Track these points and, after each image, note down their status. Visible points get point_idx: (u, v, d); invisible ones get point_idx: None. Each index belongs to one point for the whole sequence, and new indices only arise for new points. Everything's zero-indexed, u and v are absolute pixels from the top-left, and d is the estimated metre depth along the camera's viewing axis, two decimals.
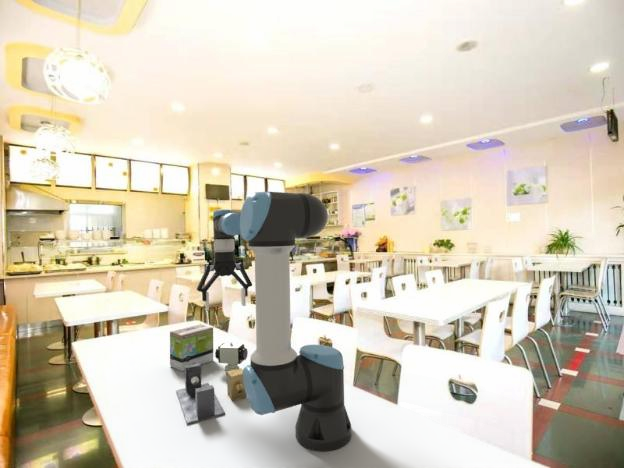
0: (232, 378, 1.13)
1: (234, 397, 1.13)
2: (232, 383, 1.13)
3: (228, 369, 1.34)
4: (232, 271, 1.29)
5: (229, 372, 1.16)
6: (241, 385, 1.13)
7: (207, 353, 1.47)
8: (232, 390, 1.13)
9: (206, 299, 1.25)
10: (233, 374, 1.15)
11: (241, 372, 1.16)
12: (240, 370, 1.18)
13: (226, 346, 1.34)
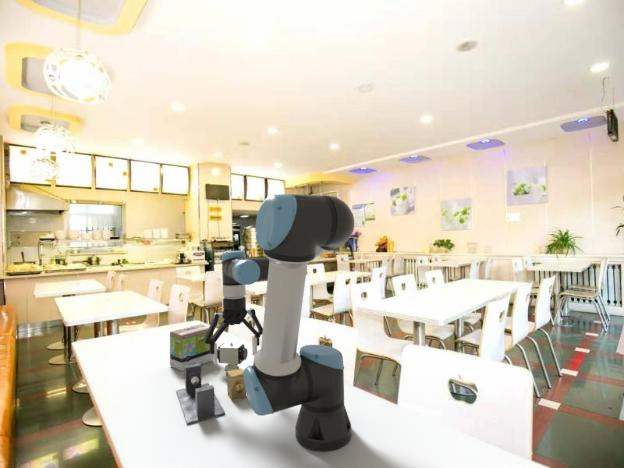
0: (232, 378, 1.13)
1: (234, 397, 1.13)
2: (232, 383, 1.13)
3: (228, 369, 1.34)
4: (243, 319, 1.16)
5: (229, 372, 1.16)
6: (241, 385, 1.13)
7: (207, 353, 1.47)
8: (232, 390, 1.13)
9: (214, 352, 1.12)
10: (233, 374, 1.15)
11: (241, 372, 1.16)
12: (240, 370, 1.18)
13: (226, 346, 1.34)
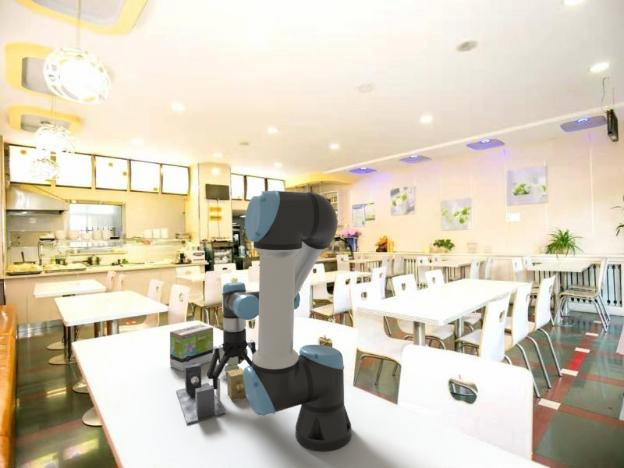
0: (232, 378, 1.13)
1: (234, 397, 1.13)
2: (232, 383, 1.13)
3: (228, 369, 1.34)
4: (242, 352, 1.16)
5: (229, 372, 1.16)
6: (241, 385, 1.13)
7: (207, 353, 1.47)
8: (232, 390, 1.13)
9: (217, 387, 1.12)
10: (233, 374, 1.15)
11: (241, 372, 1.16)
12: (240, 370, 1.18)
13: None
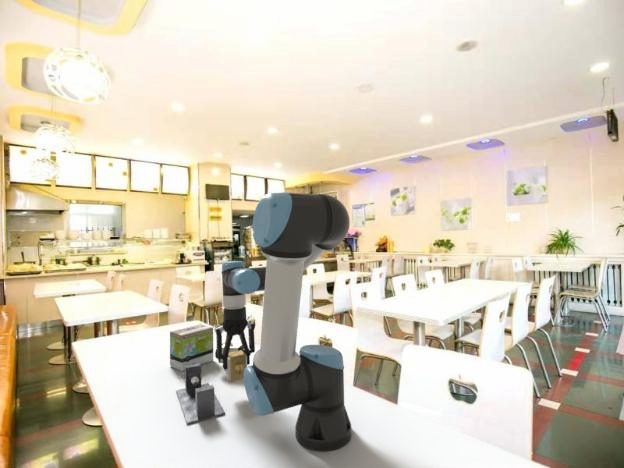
0: (232, 359, 1.13)
1: (234, 378, 1.13)
2: (232, 364, 1.13)
3: None
4: (241, 331, 1.15)
5: (229, 353, 1.16)
6: (241, 365, 1.13)
7: (207, 353, 1.47)
8: (232, 371, 1.13)
9: (227, 367, 1.13)
10: (233, 355, 1.14)
11: (241, 353, 1.16)
12: (240, 351, 1.17)
13: None
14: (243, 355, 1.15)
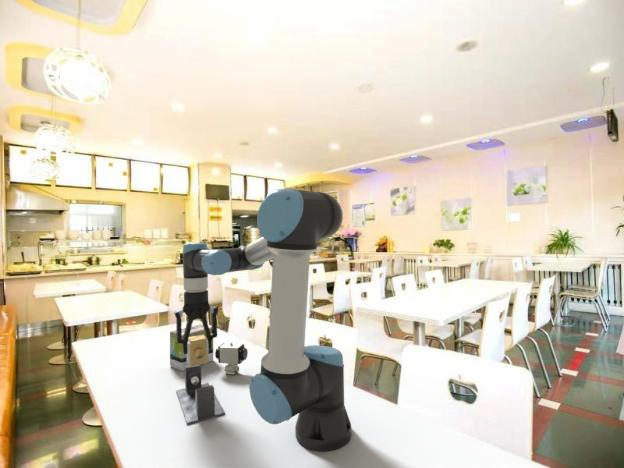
0: (192, 343, 1.09)
1: (194, 363, 1.09)
2: (192, 348, 1.09)
3: (228, 369, 1.34)
4: (203, 315, 1.12)
5: (190, 338, 1.12)
6: (201, 350, 1.09)
7: None
8: (192, 355, 1.09)
9: (187, 351, 1.10)
10: (193, 339, 1.11)
11: (202, 337, 1.12)
12: (202, 336, 1.14)
13: (226, 346, 1.34)
14: (204, 339, 1.11)
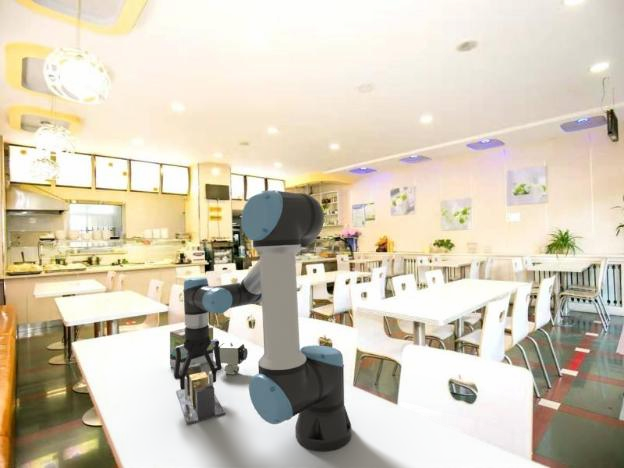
0: (193, 382, 1.09)
1: (195, 402, 1.09)
2: (194, 387, 1.09)
3: (228, 369, 1.34)
4: (204, 350, 1.12)
5: (191, 376, 1.12)
6: None
7: None
8: (193, 394, 1.09)
9: (184, 387, 1.09)
10: (195, 377, 1.11)
11: (203, 376, 1.12)
12: (203, 374, 1.14)
13: (226, 346, 1.34)
14: (205, 378, 1.11)
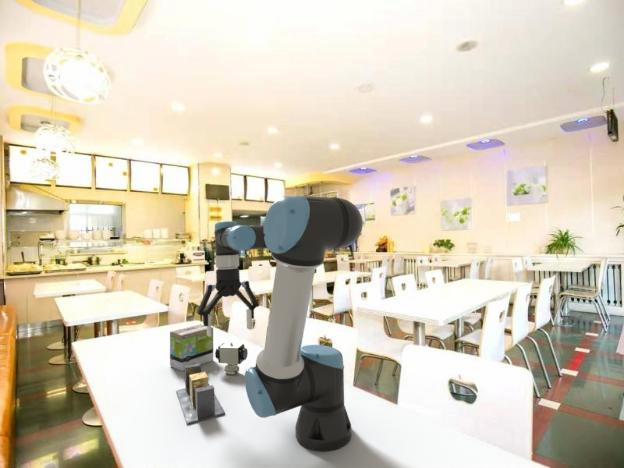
0: (193, 382, 1.09)
1: (195, 402, 1.09)
2: (194, 387, 1.09)
3: (228, 369, 1.34)
4: (237, 291, 1.14)
5: (191, 376, 1.12)
6: None
7: (207, 353, 1.47)
8: (193, 394, 1.09)
9: (208, 324, 1.09)
10: (195, 377, 1.11)
11: (203, 376, 1.12)
12: (203, 374, 1.14)
13: (226, 346, 1.34)
14: (205, 378, 1.11)
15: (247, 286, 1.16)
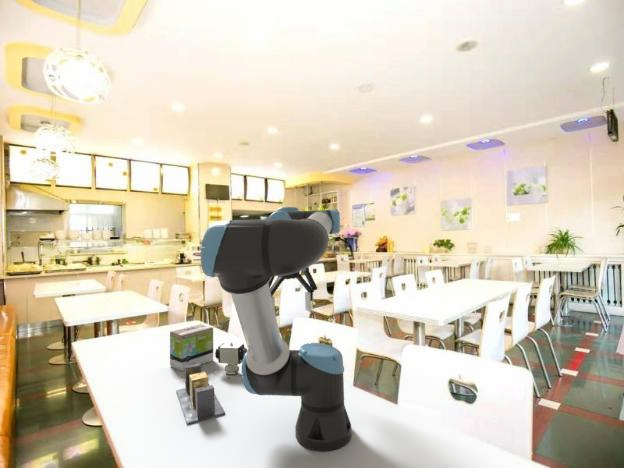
0: (193, 382, 1.09)
1: (195, 402, 1.09)
2: (194, 387, 1.09)
3: (228, 369, 1.34)
4: (298, 274, 1.19)
5: (191, 376, 1.12)
6: None
7: (207, 353, 1.47)
8: (193, 394, 1.09)
9: None
10: (195, 377, 1.11)
11: (203, 376, 1.12)
12: (203, 374, 1.14)
13: (226, 346, 1.34)
14: (205, 378, 1.11)
15: (307, 270, 1.21)
